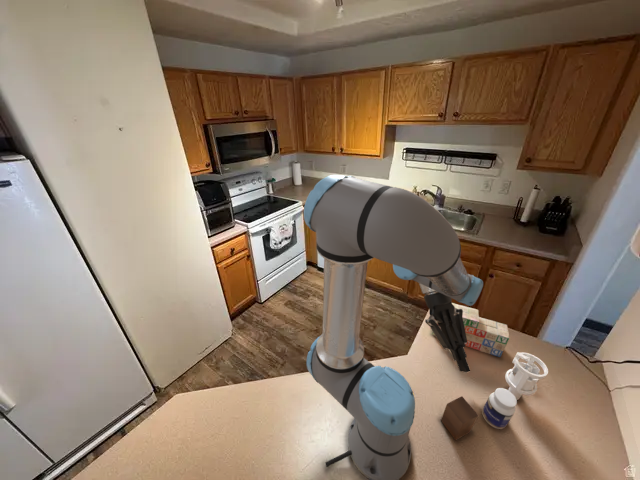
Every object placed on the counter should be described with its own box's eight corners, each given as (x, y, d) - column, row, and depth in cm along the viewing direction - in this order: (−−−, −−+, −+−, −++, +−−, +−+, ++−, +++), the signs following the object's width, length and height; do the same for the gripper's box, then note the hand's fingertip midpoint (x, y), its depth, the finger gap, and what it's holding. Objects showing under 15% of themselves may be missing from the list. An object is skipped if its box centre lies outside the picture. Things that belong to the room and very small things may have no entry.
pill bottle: (476, 411, 71) (487, 389, 66) (492, 403, 73) (503, 382, 68) (495, 433, 66) (508, 412, 62) (511, 425, 68) (525, 403, 63)
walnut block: (455, 440, 65) (463, 423, 61) (440, 420, 69) (447, 403, 65) (470, 431, 67) (478, 415, 63) (454, 412, 71) (462, 396, 67)
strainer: (503, 377, 79) (520, 345, 72) (531, 394, 75) (552, 361, 67) (495, 393, 75) (513, 360, 68) (524, 412, 70) (546, 379, 63)
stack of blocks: (498, 343, 90) (510, 318, 84) (500, 358, 85) (513, 332, 79) (433, 323, 99) (440, 298, 93) (431, 335, 94) (438, 310, 88)
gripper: (443, 288, 87) (471, 361, 81) (411, 298, 83) (439, 376, 77) (459, 285, 80) (492, 365, 74) (425, 296, 76) (457, 381, 70)
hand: (465, 370), depth 76 cm, fingers closed
